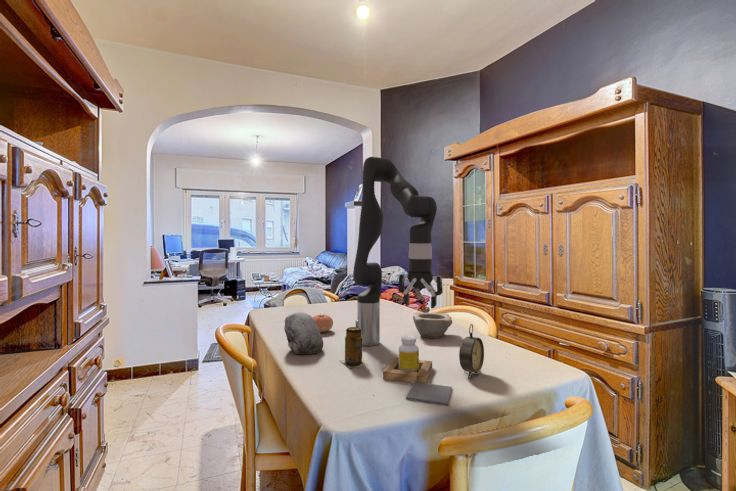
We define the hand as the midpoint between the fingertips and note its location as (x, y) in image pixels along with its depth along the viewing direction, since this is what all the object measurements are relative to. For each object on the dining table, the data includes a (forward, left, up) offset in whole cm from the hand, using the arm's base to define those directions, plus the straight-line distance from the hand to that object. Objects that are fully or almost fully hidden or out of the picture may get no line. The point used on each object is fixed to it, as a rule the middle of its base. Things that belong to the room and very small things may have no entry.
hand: (420, 306), depth 120 cm
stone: (-46, +6, -21) cm, 51 cm away
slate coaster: (+6, -16, -21) cm, 27 cm away
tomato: (-52, +34, -21) cm, 66 cm away
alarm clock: (+16, +3, -21) cm, 27 cm away
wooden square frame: (-3, -3, -21) cm, 22 cm away
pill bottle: (-3, -3, -21) cm, 22 cm away
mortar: (-3, +44, -21) cm, 49 cm away
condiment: (-23, 0, -22) cm, 31 cm away
